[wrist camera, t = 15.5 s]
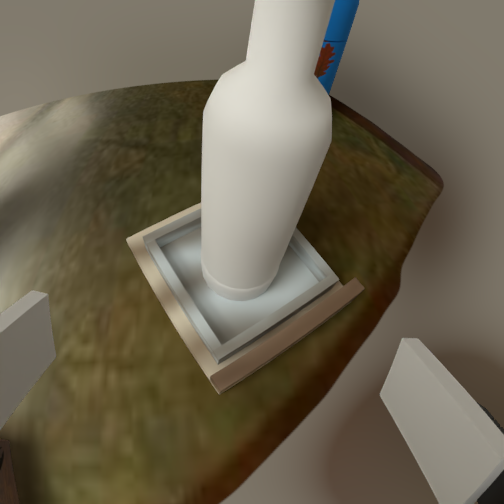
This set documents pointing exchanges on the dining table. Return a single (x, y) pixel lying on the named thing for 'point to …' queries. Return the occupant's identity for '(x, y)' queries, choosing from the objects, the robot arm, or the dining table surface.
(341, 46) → the thermos
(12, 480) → the tissue box cover
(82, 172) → the dining table surface
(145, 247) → the tray
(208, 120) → the bottle
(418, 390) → the robot arm
